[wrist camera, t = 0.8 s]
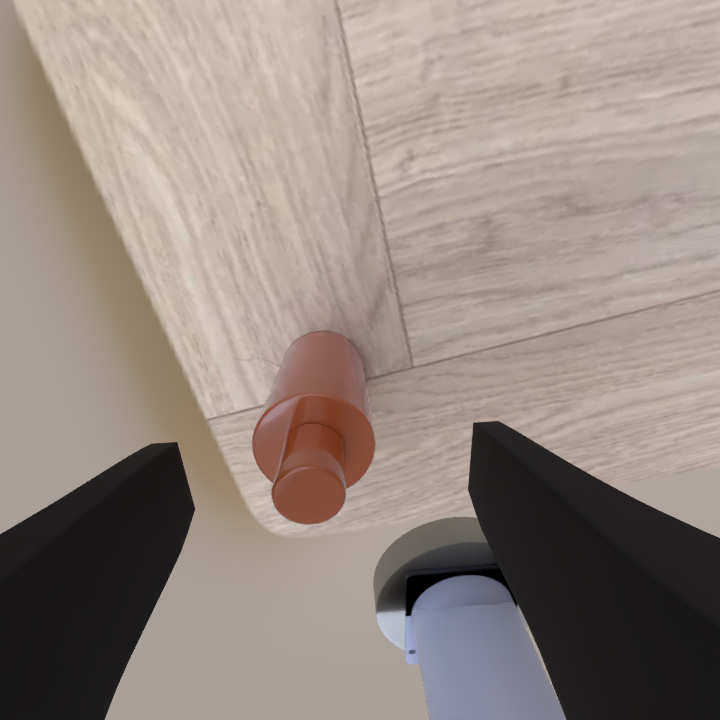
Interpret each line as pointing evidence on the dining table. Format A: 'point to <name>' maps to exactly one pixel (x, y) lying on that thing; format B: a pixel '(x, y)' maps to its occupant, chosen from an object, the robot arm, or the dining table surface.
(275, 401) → the terracotta bottle
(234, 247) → the dining table surface
